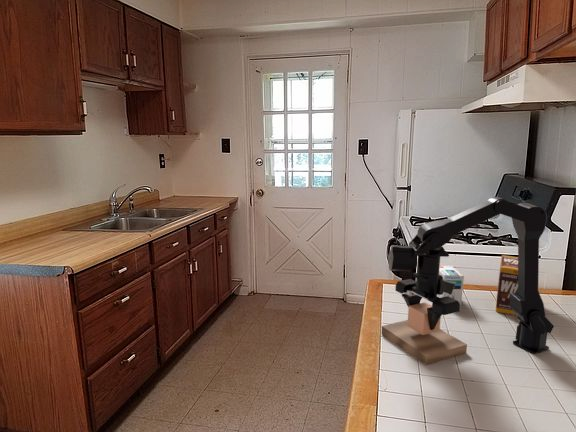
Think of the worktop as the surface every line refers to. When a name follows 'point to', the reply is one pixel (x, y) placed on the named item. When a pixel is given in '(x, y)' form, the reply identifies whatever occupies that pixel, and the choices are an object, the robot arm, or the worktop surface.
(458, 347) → the walnut block
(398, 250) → the robot arm
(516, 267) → the supplement box
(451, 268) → the light bulb box
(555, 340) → the worktop surface
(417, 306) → the terracotta cube
